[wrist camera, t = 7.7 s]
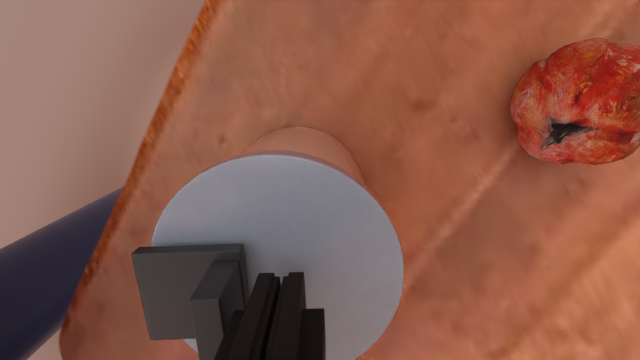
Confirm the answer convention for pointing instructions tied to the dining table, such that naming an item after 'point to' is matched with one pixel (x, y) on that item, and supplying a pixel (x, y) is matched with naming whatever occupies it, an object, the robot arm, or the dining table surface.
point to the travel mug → (299, 229)
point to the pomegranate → (580, 104)
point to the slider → (191, 291)
